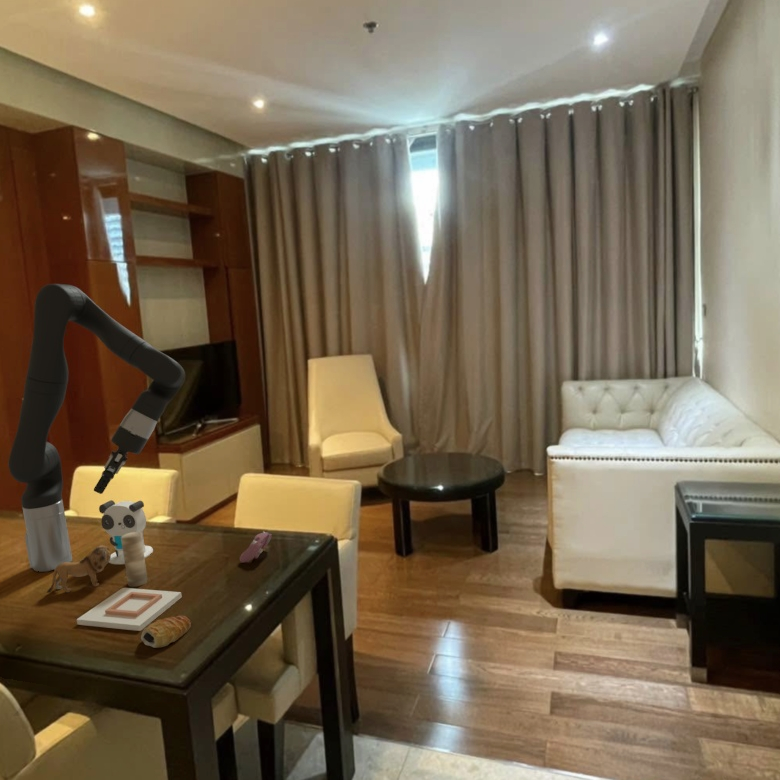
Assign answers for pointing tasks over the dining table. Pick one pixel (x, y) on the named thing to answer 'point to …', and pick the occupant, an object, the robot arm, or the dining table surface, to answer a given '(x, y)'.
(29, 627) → the dining table surface
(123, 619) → the board
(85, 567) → the lion figurine
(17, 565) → the dining table surface
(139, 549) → the maple pin
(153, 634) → the pastry
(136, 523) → the panda figurine
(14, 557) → the dining table surface
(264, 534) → the video game controller
